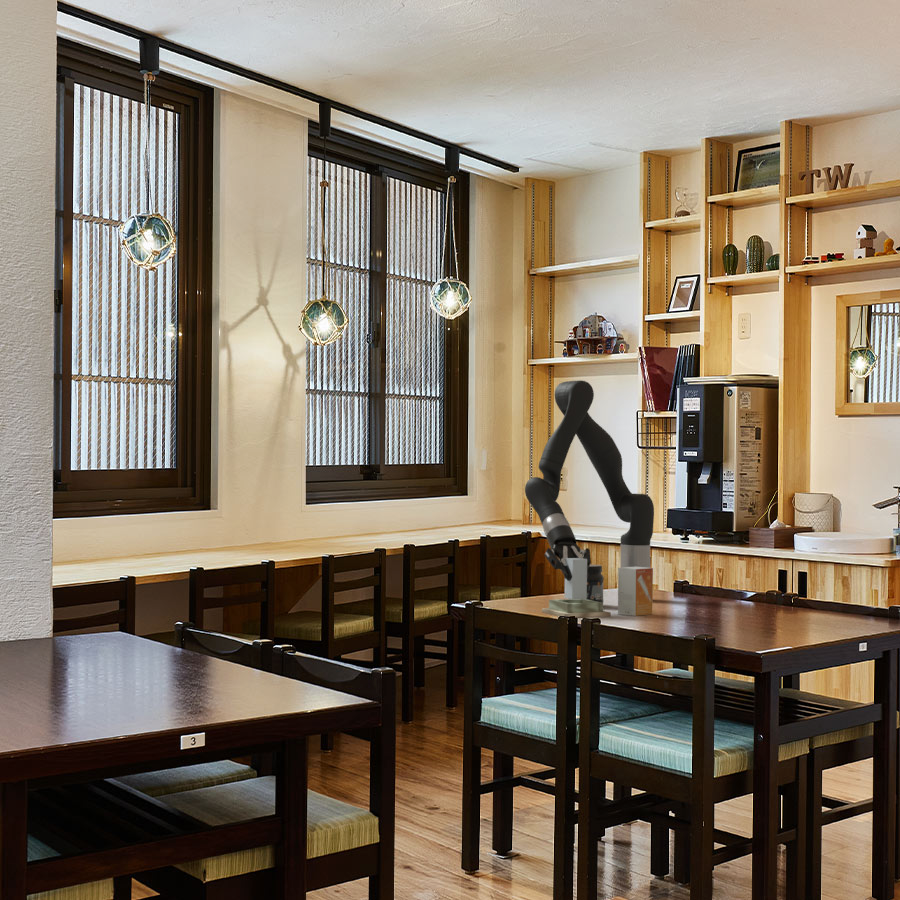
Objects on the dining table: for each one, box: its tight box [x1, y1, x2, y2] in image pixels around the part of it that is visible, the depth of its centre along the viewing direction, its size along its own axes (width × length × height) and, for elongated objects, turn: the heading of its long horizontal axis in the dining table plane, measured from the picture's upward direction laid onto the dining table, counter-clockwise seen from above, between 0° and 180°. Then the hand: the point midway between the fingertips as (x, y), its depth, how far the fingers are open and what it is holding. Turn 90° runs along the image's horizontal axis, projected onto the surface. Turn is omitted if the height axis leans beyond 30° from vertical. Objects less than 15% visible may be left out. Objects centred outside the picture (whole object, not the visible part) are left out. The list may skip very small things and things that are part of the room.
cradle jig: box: [541, 598, 612, 618], centre depth 303 cm, size 14×14×4 cm
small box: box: [617, 567, 654, 617], centre depth 304 cm, size 8×6×13 cm
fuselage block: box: [563, 558, 587, 599], centre depth 303 cm, size 4×4×11 cm
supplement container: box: [587, 563, 605, 604], centre depth 324 cm, size 10×10×12 cm
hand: (578, 578), depth 302 cm, fingers closed on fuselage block, 4 cm apart
